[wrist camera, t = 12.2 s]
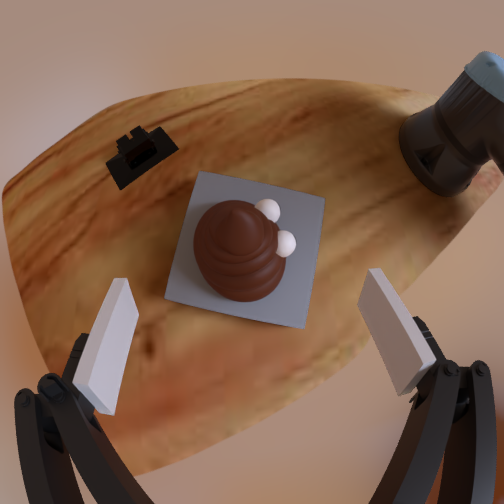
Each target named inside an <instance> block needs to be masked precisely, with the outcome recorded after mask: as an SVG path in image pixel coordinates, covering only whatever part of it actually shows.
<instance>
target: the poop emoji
mask: <svg viewBox="0 0 504 504" xmlns="http://www.w3.org/2000/svg"><path fill="white" fill-rule="evenodd" d="M280 214H281V208H280V206H279V204H278V203H277V202H275V201H274V200H272V199H263V200H261V201H259V202H258V203H257V204H256V205H254V204H251V203H249V202H246V201H241V200H227V201H223V202H220V203H217V204H215V205H214V206H212V207H211V208H209V209H208V210H207V211H206V212H205V213H204V214H203V216H202V217H201V219H200V220H199V222H198V224H197V227H196V230H195V233H194V239H193V250H194V255H195V259H196V262H197V264H198V267H199V269H200V272H201V274H202V275H203V277H204V279H205V280H206V281H207V283H208V284H209V285H210V286H211V287H212V288H213V289H214V290H215V291H216V292H217V293H219V294H220V295H222V296H223V297H225V298H227V299H230V300H233V301H236V302H254V301H257V300H260V299H262V298H264V297H266V296H268V295H269V294H270V293H271V292H273V291H274V290H275V288H276V287H277V286H278V284H279V283H280V281H281V279H282V277H283V274H284V271H285V266H286V257H287V256H289V255H290V254H291V253H292V252H293V251H294V249H295V247H296V244H297V242H296V238H295V236H294V235H293V234H292V233H290V232H288V231H285V230H281V231H280V229H279V227H278V225H277V224H276V221H277V220H278V218H279V216H280Z"/></svg>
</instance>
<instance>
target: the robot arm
mask: <svg viewBox="0 0 504 504" xmlns="http://www.w3.org/2000/svg"><path fill="white" fill-rule="evenodd" d="M464 69H465V70H464V71H463V72H462V73H461V75H460V76H459V77H458V78H457V79H456V81H455V82H454V83H453V84H452V85H451V86H450V87H449V88H448V90H447V91H446V92H445V93H444V94H443V95H442V96H441V97H440V99H439V100H438V101H437V102H436V103H435V104H434V105H432V106H430V107H428V108H426V109H424V110H422V111H421V112H418V113H415V114H413V115H411V116H410V117H409V118H408V119H407V120H406V121H405V122H404V123H403V125H402V126H401V128H400V132H399V142H400V147H401V150H402V153H403V155H404V158H405V160H406V162H407V163H408V165H409V167H410V168H411V170H412V171H413V173H414V174H415V175H416V176H417V178H418V179H419V180H420V181H421V182H422V183H423V184H424V185H425V186H426V187H428V188H429V189H430V190H432V191H433V192H435V193H437V194H439V195H441V196H445V197H454V196H456V195H458V194H460V193H461V192H463V191H464V190H466V189H467V188H468V186H469V185H470V183H471V181H472V179H473V178H474V177H475V175H476V174H477V173H478V171H479V170H480V168H481V166H482V165H484V164H485V163H486V162H488V161H489V160H491V159H493V160H494V162H495V163H496V165H497V166H498V168H499V169H500V171H501V172H502V174H503V175H504V59H503V58H501V57H500V56H498V55H496V54H494V53H491V52H487V51H484V52H481V53H479V54H478V55H477V56H476V57H475V58H474V59H473V60H472V61H471V62H470V63H469V64H467V65H466V66H465V67H464ZM357 305H358V307H359V310H360V312H361V314H362V316H363V318H364V320H365V322H366V324H367V326H368V328H369V330H370V333H371V335H372V337H373V339H374V341H375V343H376V345H377V348H378V350H379V352H380V355H381V357H382V359H383V361H384V364H385V366H386V368H387V370H388V373H389V375H390V377H391V380H392V382H393V385H394V387H395V389H396V392H397V395H398V396H401V395H404V394H407V393H410V392H411V391H412V390H413V389H414V388H415V387H417V389H418V392H417V393H416V394H415V395H414V396H413V397H412V398H411V400H410V401H409V403H411V402H412V401H413V400H414V402H413V405H412V408H411V411H410V413H409V416H408V419H407V422H406V425H405V427H404V430H403V433H402V435H401V438H400V440H399V443H398V445H397V447H396V450H395V452H394V454H393V457H392V459H391V461H390V463H389V465H388V467H387V470H386V472H385V474H384V476H383V478H382V480H381V482H380V483H379V485H378V487H377V489H376V491H375V493H374V495H373V497H372V498H371V500H370V502H369V504H425V502H426V500H427V497H428V495H429V493H430V490H431V488H432V485H433V483H434V480H435V478H436V475H437V472H438V469H439V466H440V463H441V460H442V457H443V454H444V463H443V471H442V479H441V485H440V491H439V497H438V502H437V504H492V503H493V496H494V487H495V476H496V456H497V449H496V448H497V447H496V446H497V437H496V417H495V405H494V395H493V387H492V380H491V375H490V370H489V367H488V366H487V364H485V363H484V362H483V361H480V360H477V361H475V362H474V363H473V364H472V365H471V366H470V367H459V366H458V365H457V364H456V363H455V362H453V361H452V360H447V359H446V358H445V356H444V355H443V353H442V351H441V349H440V348H439V346H438V344H437V342H436V341H435V339H434V338H433V336H432V334H431V332H429V329H428V327H427V326H426V324H425V323H424V322H423V321H422V320H421V319H420V318H419V317H418V316H416V317H412V316H411V315H410V313H409V312H408V310H407V308H406V307H405V305H404V304H403V302H402V301H401V299H400V298H399V296H398V294H397V293H396V291H395V290H394V288H393V287H392V285H391V284H390V282H389V281H388V279H387V278H386V276H385V275H384V273H383V272H382V270H381V269H380V268H373V269H368V272H367V276H366V279H365V282H364V286H363V289H362V292H361V295H360V298H359V301H358V304H357ZM138 317H139V313H138V310H137V307H136V305H135V302H134V299H133V296H132V293H131V290H130V287H129V283H128V280H127V278H114V280H113V282H112V284H111V286H110V288H109V291H108V293H107V295H106V297H105V299H104V302H103V304H102V306H101V308H100V311H99V313H98V315H97V318H96V320H95V322H94V325H93V327H92V330H91V332H90V334H86V333H82V334H81V335H80V336H79V338H78V339H77V340H76V341H75V344H74V346H73V349H72V351H71V354H70V358H69V359H68V361H67V364H66V367H65V369H64V372H63V375H62V378H60V377H59V376H58V375H57V374H55V373H49V374H45V375H44V376H43V377H42V378H41V379H40V381H39V382H38V386H37V389H38V393H39V394H34V393H33V392H32V391H31V390H30V389H27V388H24V389H22V390H20V391H19V392H18V393H17V394H16V397H15V401H14V408H15V425H16V436H17V445H18V452H19V458H20V465H21V470H22V475H23V480H24V485H25V489H26V492H27V497H28V500H29V504H84V501H83V498H82V495H81V493H80V490H79V487H78V484H77V481H76V477H75V474H74V471H73V467H72V463H71V459H70V456H71V458H72V460H73V462H74V464H75V465H76V468H77V470H78V472H79V473H80V475H81V477H82V479H83V481H84V482H85V484H86V486H87V487H88V489H89V491H90V492H91V494H92V496H93V497H94V499H95V500H96V502H97V503H98V504H154V503H153V501H152V500H151V499H150V498H149V497H148V495H147V494H146V493H145V492H144V491H143V489H142V488H141V486H140V485H139V484H138V483H137V481H136V480H135V479H134V477H133V476H132V474H131V473H130V472H129V470H128V469H127V467H126V466H125V464H124V463H123V461H122V460H121V458H120V457H119V455H118V454H117V452H116V451H115V449H114V448H113V446H112V444H111V443H110V441H109V439H108V438H107V436H106V434H105V433H104V431H103V429H102V427H101V426H100V424H99V422H98V420H97V418H96V417H95V415H94V414H93V413H94V409H95V408H96V410H97V411H98V412H99V413H103V414H108V415H114V413H115V408H116V403H117V399H118V394H119V389H120V385H121V381H122V376H123V372H124V368H125V364H126V360H127V356H128V352H129V349H130V345H131V341H132V338H133V334H134V330H135V327H136V324H137V320H138ZM444 451H445V453H444ZM69 454H70V456H69Z"/></svg>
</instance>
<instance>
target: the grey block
mask: <svg viewBox="0 0 504 504" xmlns="http://www.w3.org/2000/svg"><path fill="white" fill-rule="evenodd" d="M263 199H272V200H274V201H275V202H277V203H278V204H279V206H280V208H281V214H280V216H279V218H278V220H277V221H276V224H277V225H278V227H279V229H280V231H281V230H285V231H288V232H290V233H292V234H293V235H294V236H295V238H296V242H297V244H296V247H295V249H294V251H293V252H292V253H291V254H290V255H289V256H287V257H286V266H285V271H284V274H283V277H282V279H281V281H280V283H279V284H278V286H277V287H276V288H275V290H274V291H273V292H271V293H270V294H269V295H268V296H266V297H264V298H262V299H260V300H257V301H254V302H236V301H233V300H230V299H227V298H225V297H223V296H222V295H220V294H219V293H217V292H216V291H215V290H214V289H213V288H212V287H211V286H210V285H209V284H208V283H207V281H206V280H205V279H204V277H203V275H202V274H201V272H200V269H199V267H198V264H197V262H196V259H195V255H194V250H193V239H194V233H195V230H196V227H197V224H198V222H199V220H200V219H201V217H202V216H203V214H204V213H205V212H206V211H207V210H208V209H209V208H211V207H212V206H214V205H215V204H217V203H220V202H223V201H227V200H241V201H246V202H249V203H251V204H254V205H256V204H257V203H258V202H259V201H261V200H263ZM324 205H325V198H323V197H319V196H315V195H311V194H307V193H303V192H299V191H295V190H291V189H286V188H282V187H278V186H273V185H269V184H264V183H260V182H255V181H250V180H246V179H241V178H236V177H231V176H225V175H220V174H215V173H209V172H204V171H199V173H198V176H197V179H196V183H195V186H194V189H193V192H192V195H191V199H190V202H189V205H188V209H187V212H186V215H185V219H184V222H183V226H182V230H181V233H180V237H179V240H178V244H177V248H176V252H175V256H174V259H173V263H172V267H171V271H170V275H169V280H168V284H167V288H166V292H165V297H164V299H167V300H171V301H175V302H178V303H182V304H186V305H190V306H194V307H199V308H203V309H207V310H211V311H216V312H220V313H224V314H229V315H234V316H238V317H243V318H248V319H253V320H258V321H263V322H268V323H273V324H278V325H284V326H289V327H295V328H300V329H304V328H305V323H306V318H307V313H308V308H309V302H310V297H311V291H312V286H313V280H314V274H315V268H316V262H317V255H318V249H319V242H320V235H321V228H322V221H323V213H324Z"/></svg>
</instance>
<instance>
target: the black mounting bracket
mask: <svg viewBox="0 0 504 504" xmlns="http://www.w3.org/2000/svg"><path fill="white" fill-rule="evenodd" d="M130 134H131V135H132V137H133V138H131V139H130V140H129V138H128V137H127V135H126V134H125V135H124V136H123V137H121V138H120V139H118V140H117V141H116V142H117V144H118V146H117V148H118V150H119V151H118V153H119V154H117V155H116V156H114V157H113V158H112V159H110V160H109V161H108V162H106V165H107V167H108V169H109V171H110V173H111V175H112V177H113V179H114V180H115V182H116V184H117V186H118V188H119V189H120V190H122V189H123V188H125V187H126V186H127V185H129V184H130V183H131V182H133V181H134V180H135V179H137V178H138V177H139V176H141V175H142V174H144V173H145V172H146V171H148V170H149V169H151V168H152V167H153V166H155V165H156V164H158V163H159V162H161V161H162V160H164V159H165V158H167V157H168V156H170V155H171V154H173V153H174V152H176V151H177V150H179V148H178V147H177V146H176V144H175V143H174V142H173V141H172V140H171V139H170V137H169V136H168V135H167V134H166V133H165V131H164V130H163V129H162V128H161V127H158V128H156V129H155V130H153V131H151V132H150V133H148V132H146V131H145V130H144V129H142V128H141V127H140V125H139V126H137V127H136V128H134V129H133V130H131V131H130Z"/></svg>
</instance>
